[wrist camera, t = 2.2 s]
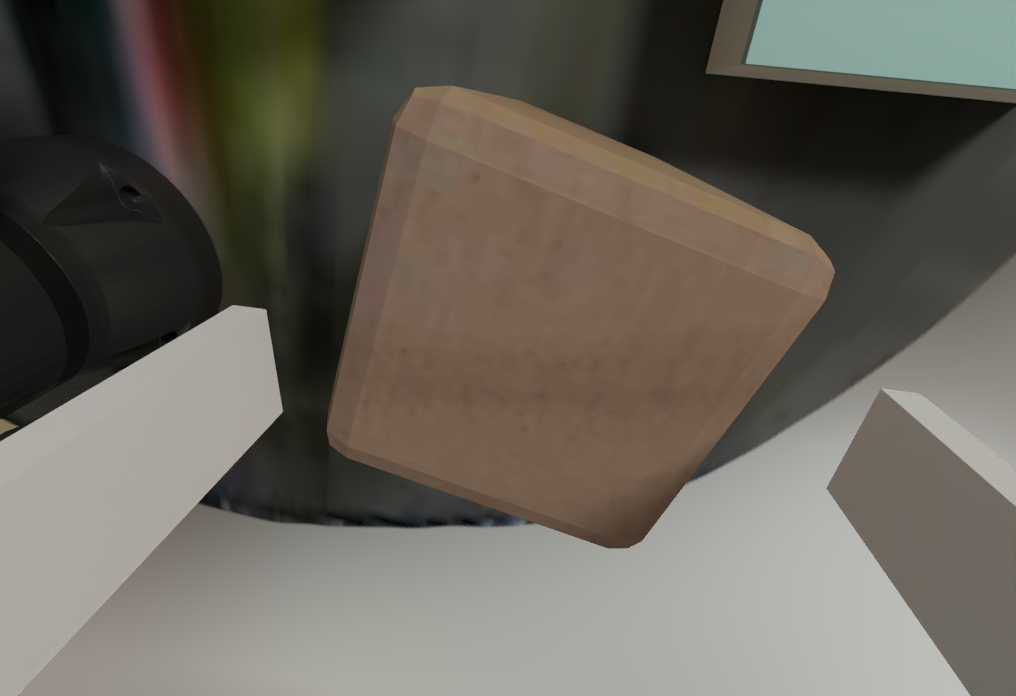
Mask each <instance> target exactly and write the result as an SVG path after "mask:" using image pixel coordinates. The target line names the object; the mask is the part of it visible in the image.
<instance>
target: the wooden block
mask: <svg viewBox="0 0 1016 696" xmlns="http://www.w3.org/2000/svg"><path fill="white" fill-rule="evenodd" d="M834 273H835V271H834V268H833V266H832V263H831V261H830V259H829V258H828V257H827V256H826V254H825V253H824V252H823V251H822V249H821V248H820V247H819V246H818V245H817V243H816V242H815V241H814V240H813V238H812V237H811V236H810V235H808V234H806V233H804V232H802V231H800V230H798V229H796V228H794V227H792V226H790V225H788V224H787V223H785V222H783V221H781V220H779V219H777V218H775V217H773V216H771V215H769V214H767V213H765V212H763V211H761V210H759V209H757V208H755V207H753V206H751V205H749V204H747V203H745V202H743V201H741V200H739V199H737V198H735V197H733V196H731V195H729V194H727V193H725V192H723V191H721V190H719V189H717V188H715V187H713V186H711V185H709V184H707V183H705V182H703V181H701V180H699V179H697V178H695V177H693V176H691V175H689V174H687V173H685V172H683V171H681V170H679V169H677V168H675V167H673V166H671V165H669V164H668V163H666V162H664V161H662V160H660V159H658V158H656V157H653V156H651V155H649V154H646V153H644V152H642V151H639V150H637V149H634V148H632V147H630V146H627V145H625V144H623V143H620V142H618V141H615V140H613V139H611V138H608V137H606V136H604V135H601V134H599V133H596V132H594V131H592V130H589V129H587V128H585V127H582V126H580V125H577V124H575V123H573V122H570V121H568V120H566V119H563V118H561V117H558V116H556V115H554V114H551V113H549V112H547V111H544V110H542V109H539V108H537V107H535V106H532V105H530V104H528V103H525V102H523V101H520V100H516V99H511V98H507V97H502V96H497V95H493V94H488V93H484V92H479V91H474V90H470V89H465V88H461V87H456V86H438V87H417V88H414V90H413V91H412V93H411V94H410V95H409V97H408V98H407V100H406V101H405V102H404V104H403V105H402V107H401V108H400V110H399V111H398V112H397V114H396V115H395V117H394V118H393V120H392V125H391V129H390V134H389V138H388V143H387V147H386V152H385V157H384V161H383V166H382V170H381V175H380V179H379V184H378V188H377V193H376V197H375V202H374V206H373V211H372V215H371V220H370V224H369V229H368V233H367V238H366V242H365V247H364V251H363V256H362V260H361V265H360V269H359V274H358V278H357V283H356V287H355V292H354V296H353V301H352V305H351V310H350V314H349V319H348V323H347V328H346V332H345V337H344V342H343V346H342V351H341V355H340V360H339V364H338V369H337V373H336V378H335V382H334V387H333V391H332V396H331V400H330V405H329V409H328V418H327V434H328V438H329V443H330V445H331V446H332V447H334V448H335V449H336V450H337V451H339V452H340V453H341V454H343V455H344V456H345V457H347V458H349V459H352V460H355V461H358V462H360V463H363V464H366V465H369V466H372V467H375V468H378V469H381V470H384V471H386V472H389V473H392V474H395V475H398V476H401V477H404V478H407V479H410V480H412V481H415V482H418V483H421V484H424V485H427V486H430V487H433V488H436V489H438V490H441V491H444V492H447V493H450V494H453V495H456V496H459V497H462V498H464V499H467V500H470V501H473V502H476V503H479V504H482V505H485V506H487V507H490V508H493V509H496V510H499V511H502V512H505V513H508V514H511V515H513V516H516V517H519V518H522V519H525V520H528V521H531V522H534V523H537V524H539V525H543V526H546V527H548V528H551V529H554V530H557V531H560V532H563V533H565V534H568V535H571V536H574V537H577V538H580V539H583V540H586V541H589V542H591V543H594V544H597V545H600V546H603V547H606V548H629V547H631V546H633V545H635V544H637V543H639V542H641V541H642V540H643V539H644V537H645V536H646V535H647V534H648V532H649V531H650V530H651V528H652V527H653V526H654V524H655V523H656V522H657V520H658V519H659V518H660V516H661V515H662V514H663V513H664V511H665V510H666V509H667V507H668V506H669V505H670V503H671V502H672V501H673V499H674V498H675V497H676V495H677V494H678V493H679V492H680V490H681V489H682V488H683V486H684V485H685V484H686V482H687V481H688V480H689V478H690V477H691V476H692V474H693V473H694V472H695V471H696V469H697V468H698V467H699V465H700V464H701V463H702V461H703V460H704V459H705V457H706V456H707V455H708V454H709V452H710V451H711V450H712V448H713V447H714V446H715V444H716V443H717V442H718V440H719V439H720V438H721V436H722V435H723V434H724V433H725V431H726V430H727V429H728V427H729V426H730V425H731V423H732V422H733V421H734V419H735V418H736V417H737V415H738V414H739V413H740V412H741V410H742V409H743V408H744V406H745V405H746V404H747V402H748V401H749V400H750V398H751V397H752V396H753V394H754V393H755V392H756V391H757V389H758V388H759V387H760V385H761V384H762V383H763V381H764V380H765V379H766V377H767V376H768V375H769V374H770V372H771V371H772V370H773V368H774V367H775V366H776V364H777V363H778V362H779V360H780V359H781V358H782V356H783V355H784V354H785V353H786V351H787V350H788V349H789V347H790V346H791V345H792V343H793V342H794V341H795V339H796V338H797V337H798V335H799V334H800V333H801V332H802V330H803V329H804V328H805V326H806V325H807V324H808V322H809V321H810V320H811V318H812V317H813V316H814V315H815V313H816V312H817V311H818V309H819V308H820V307H821V305H822V304H823V303H824V301H825V299H826V297H827V294H828V291H829V288H830V285H831V282H832V279H833V276H834Z"/></svg>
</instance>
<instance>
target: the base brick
mask: <svg viewBox="0 0 1016 696" xmlns="http://www.w3.org/2000/svg"><path fill="white" fill-rule="evenodd" d="M705 73H706V74H717V75H727V76H738V77H748V78H759V79H769V80H779V81H790V82H800V83H811V84H821V85H832V86H842V87H853V88H863V89H873V90H884V91H894V92H905V93H915V94H926V95H936V96H947V97H957V98H967V99H978V100H988V101H999V102H1009V103H1016V0H723V3H722V7H721V11H720V15H719V19H718V23H717V27H716V31H715V36H714V40H713V44H712V48H711V52H710V56H709V60H708V64H707V68H706V72H705Z"/></svg>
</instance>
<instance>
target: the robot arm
mask: <svg viewBox="0 0 1016 696" xmlns="http://www.w3.org/2000/svg"><path fill="white" fill-rule="evenodd" d="M220 298H221V272H220V266H219V262H218V258H217V255H216V251H215V248H214V246H213V243H212V241H211V239H210V236H209V234H208V232H207V230H206V228H205V226H204V225H203V223H202V221H201V220H200V218H199V216H198V215H197V213H196V212H195V210H194V209H193V207H192V206H191V205H190V204H189V202H188V201H187V200H186V198H185V197H184V196H183V195H182V194H181V193H180V191H179V190H178V189H177V188H176V187H175V186H174V185H173V184H172V183H171V182H170V181H169V180H168V179H167V178H166V177H164V176H163V175H162V174H161V173H160V172H159V171H157V170H156V169H155V168H154V167H152V166H151V165H150V164H148V163H147V162H145V161H144V160H142V159H141V158H139V157H138V156H136V155H134V154H133V153H131V152H129V151H127V150H125V149H123V148H121V147H119V146H117V145H114V144H112V143H109V142H107V141H104V140H100V139H97V138H93V137H89V136H82V135H71V134H70V135H47V136H32V137H25V138H20V139H16V140H12V141H9V142H6V143H3V144H1V145H0V419H2V418H3V417H5V416H7V415H9V414H10V413H12V412H14V411H15V410H17V409H19V408H21V407H22V406H24V405H26V404H28V403H29V402H31V401H33V400H35V399H36V398H38V397H40V396H42V395H43V394H45V393H47V392H48V391H50V390H52V389H54V388H55V387H57V386H59V385H61V384H63V383H65V382H66V381H68V380H70V379H72V378H74V377H76V376H79V375H83V374H88V373H93V372H97V371H102V370H107V369H111V368H116V367H120V366H125V365H130V364H132V365H130V366H128V367H127V368H125V369H123V370H121V371H120V372H118V373H116V374H115V375H113V376H111V377H109V378H108V379H106V380H104V381H103V382H101V383H99V384H98V385H96V386H94V387H92V388H91V389H89V390H87V391H86V392H84V393H82V394H80V395H79V396H77V397H75V398H74V399H72V400H70V401H69V402H67V403H65V404H63V405H62V406H60V407H58V408H57V409H55V410H53V411H51V412H50V413H48V414H46V415H45V416H43V417H41V418H40V419H37V420H35V421H32V422H30V423H27V424H24V425H22V426H19V427H17V428H14V429H12V430H9V431H6V432H4V433H3V434H1V435H0V696H18V695H19V694H20V693H21V691H23V689H24V688H25V687H26V686H27V685H28V684H29V683H30V682H31V681H32V680H33V679H34V678H35V677H36V676H37V674H38V673H39V672H40V671H41V670H42V669H43V668H44V667H45V666H46V665H47V663H49V661H50V660H51V659H52V658H53V657H54V656H55V655H56V654H57V653H58V652H59V651H60V650H61V649H62V648H63V647H64V646H65V644H66V643H67V642H68V641H69V640H70V639H71V638H72V637H73V636H74V635H75V634H76V633H77V632H78V630H79V629H80V628H81V627H82V626H83V625H84V624H85V623H86V622H87V621H88V620H89V619H90V618H91V617H92V616H93V615H94V613H95V612H96V611H97V610H98V609H99V608H100V607H101V606H102V605H103V604H104V603H105V602H106V600H108V598H109V597H110V596H111V595H112V594H113V593H114V592H115V591H116V590H117V589H118V588H119V587H120V586H121V584H122V583H123V582H124V581H125V580H126V579H127V578H128V577H129V576H130V575H131V574H132V573H133V572H134V571H135V570H136V568H137V567H138V566H139V565H140V564H141V563H142V562H143V561H144V560H145V559H146V558H147V557H148V556H149V555H150V554H151V552H152V551H153V550H154V549H155V548H156V547H157V546H158V545H159V544H160V543H161V541H163V540H164V539H165V537H166V536H167V535H168V534H169V533H170V532H171V531H172V530H173V529H174V528H175V527H176V525H178V524H179V522H180V521H181V520H182V519H183V518H184V517H185V516H186V515H187V514H188V513H189V512H190V511H191V509H192V508H193V507H194V506H195V505H196V504H197V503H198V502H199V501H200V500H201V499H202V498H203V497H204V496H205V495H206V494H207V493H208V491H209V490H210V489H211V488H212V487H213V486H214V485H215V484H216V483H217V482H218V481H219V480H220V479H221V478H222V476H223V475H224V474H225V473H226V472H227V471H228V470H229V469H230V468H231V467H232V466H233V465H234V464H235V463H236V461H237V460H238V459H239V458H240V457H241V456H242V455H243V454H244V453H245V452H246V451H247V450H248V449H249V448H250V446H251V445H252V444H253V443H254V442H255V441H256V440H257V439H258V438H259V437H260V436H261V435H262V434H263V433H264V432H265V430H266V429H267V428H268V427H269V426H270V425H271V424H272V423H273V422H274V421H275V420H276V419H277V418H278V417H279V415H280V414H281V413H282V412H283V409H282V403H281V397H280V391H279V385H278V379H277V373H276V367H275V361H274V355H273V348H272V342H271V336H270V330H269V324H268V318H267V312H266V309H259V308H251V307H243V306H235V305H232V306H231V307H229V308H227V309H225V310H224V311H222V312H220V313H219V314H217V315H216V313H217V310H218V307H219V303H220ZM827 490H828V491H829V493H830V494H831V495H832V497H833V498H834V500H835V501H836V502H837V504H838V505H839V507H840V508H841V510H842V511H843V513H844V514H845V515H846V517H847V518H848V520H849V521H850V523H851V524H852V526H853V527H854V528H855V530H856V531H857V533H858V534H859V536H860V537H861V539H862V540H863V541H864V543H865V544H866V546H867V547H868V549H869V550H870V551H871V553H872V554H873V556H874V557H875V559H876V560H877V561H878V563H879V564H880V566H881V567H882V569H883V570H884V571H885V573H886V575H887V576H888V577H889V579H890V580H891V582H892V583H893V585H894V586H895V587H896V589H897V590H898V592H899V593H900V595H901V596H902V598H903V599H904V600H905V602H906V603H907V605H908V606H909V608H910V609H911V610H912V612H913V613H914V615H915V616H916V618H917V619H918V620H919V622H920V623H921V625H922V626H923V628H924V629H925V631H926V632H927V634H928V635H929V636H930V638H931V639H932V641H933V642H934V644H935V645H936V646H937V648H938V649H939V651H940V652H941V654H942V655H943V656H944V658H945V659H946V661H947V662H948V664H949V665H950V667H951V668H952V669H953V671H954V672H955V673H956V675H957V677H958V678H959V680H960V681H961V682H962V684H963V685H964V687H965V688H966V690H967V691H968V692H969V694H970V695H971V696H1016V470H1015V469H1014V468H1013V467H1012V466H1010V465H1009V464H1008V463H1007V462H1005V461H1004V460H1003V459H1001V458H1000V457H999V456H998V455H997V454H995V453H994V452H993V451H991V450H990V449H989V448H988V447H986V446H985V445H984V444H983V443H981V442H980V441H979V440H978V439H976V438H975V437H974V436H972V435H971V434H970V433H969V432H968V431H966V430H965V429H964V428H963V427H961V426H960V425H959V424H958V423H956V422H955V421H954V420H952V419H951V418H950V417H949V416H947V415H946V414H945V413H944V412H942V411H941V410H940V409H939V408H937V407H936V406H935V405H934V404H932V403H931V402H930V401H928V400H927V399H926V398H925V397H924V396H922V395H921V394H920V393H912V392H904V391H896V390H889V389H881V390H880V391H879V393H878V395H877V397H876V399H875V401H874V402H873V404H872V406H871V408H870V410H869V412H868V413H867V415H866V417H865V419H864V421H863V423H862V424H861V426H860V428H859V430H858V432H857V433H856V435H855V437H854V439H853V441H852V443H851V444H850V446H849V448H848V450H847V452H846V454H845V456H844V457H843V459H842V461H841V463H840V465H839V466H838V468H837V470H836V472H835V474H834V476H833V477H832V479H831V481H830V483H829V485H828V487H827Z"/></svg>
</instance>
